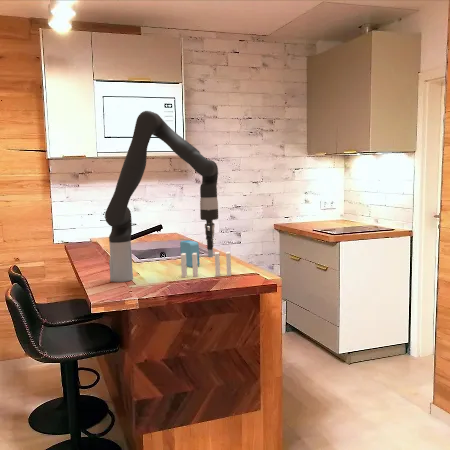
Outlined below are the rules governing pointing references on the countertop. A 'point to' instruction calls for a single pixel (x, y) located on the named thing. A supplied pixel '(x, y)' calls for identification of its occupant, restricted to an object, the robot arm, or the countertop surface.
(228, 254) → the domino
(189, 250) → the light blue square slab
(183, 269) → the domino
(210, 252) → the domino
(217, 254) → the domino
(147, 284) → the countertop surface
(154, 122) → the robot arm
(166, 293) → the countertop surface
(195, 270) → the domino
